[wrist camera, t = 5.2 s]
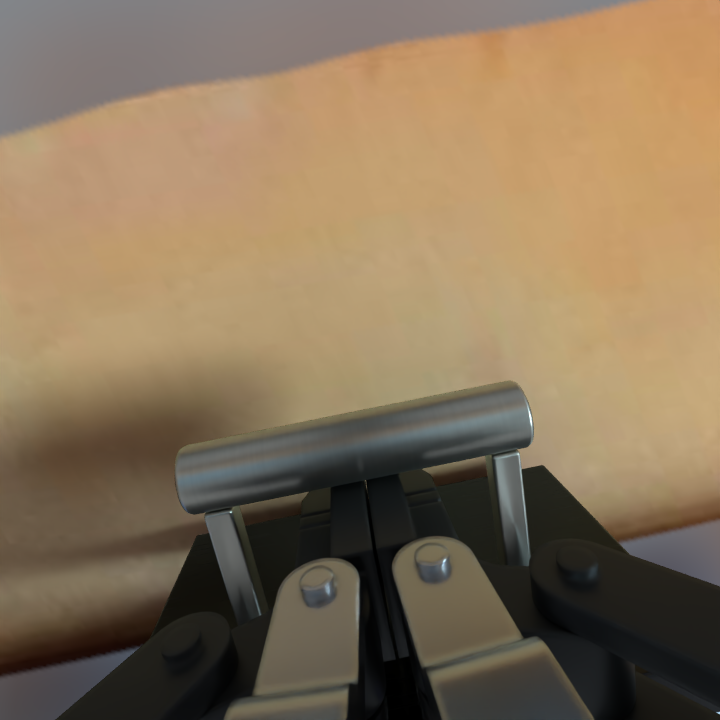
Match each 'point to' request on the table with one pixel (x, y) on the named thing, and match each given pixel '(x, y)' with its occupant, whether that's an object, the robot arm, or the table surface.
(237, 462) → the drawer
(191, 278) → the table surface
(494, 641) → the robot arm
